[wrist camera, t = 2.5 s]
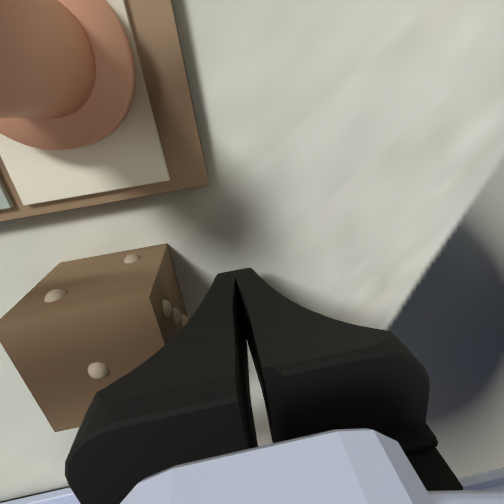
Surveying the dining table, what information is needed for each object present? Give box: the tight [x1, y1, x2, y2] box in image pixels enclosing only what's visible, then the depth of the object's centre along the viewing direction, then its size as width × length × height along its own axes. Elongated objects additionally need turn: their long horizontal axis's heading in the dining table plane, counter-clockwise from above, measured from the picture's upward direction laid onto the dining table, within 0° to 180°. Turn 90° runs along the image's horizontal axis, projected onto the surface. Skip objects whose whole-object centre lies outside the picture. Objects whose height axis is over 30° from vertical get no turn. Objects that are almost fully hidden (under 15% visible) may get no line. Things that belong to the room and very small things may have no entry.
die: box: [0, 243, 189, 432], centre depth 10 cm, size 4×4×4 cm
